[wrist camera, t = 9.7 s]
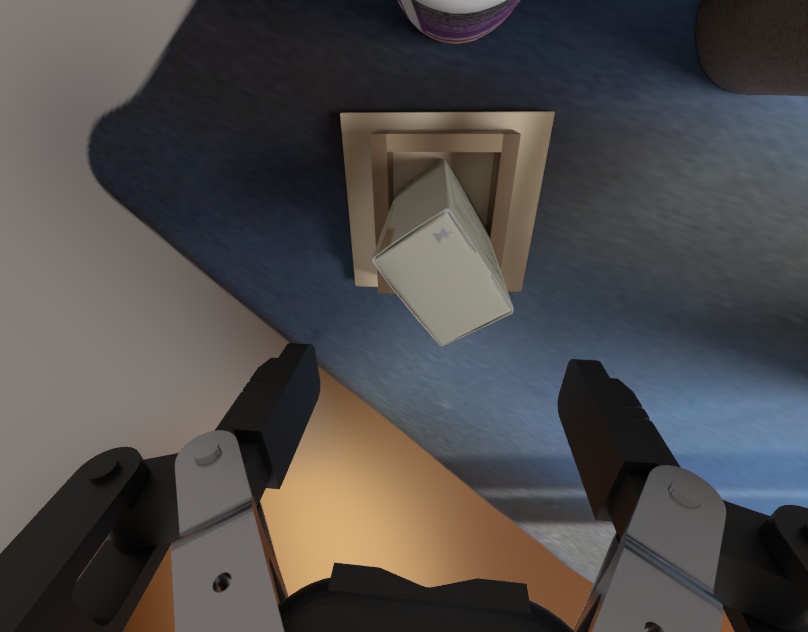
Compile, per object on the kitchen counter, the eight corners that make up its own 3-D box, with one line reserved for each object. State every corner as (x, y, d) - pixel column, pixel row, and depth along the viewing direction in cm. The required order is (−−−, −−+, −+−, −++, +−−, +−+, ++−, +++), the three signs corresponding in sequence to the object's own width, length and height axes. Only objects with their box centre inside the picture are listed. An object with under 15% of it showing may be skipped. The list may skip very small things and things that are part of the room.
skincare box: (394, 191, 26) (362, 254, 16) (444, 155, 25) (445, 199, 14) (441, 259, 29) (439, 352, 19) (489, 230, 27) (517, 314, 17)
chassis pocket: (550, 111, 24) (568, 114, 20) (519, 286, 31) (528, 310, 27) (343, 112, 25) (327, 115, 22) (357, 280, 32) (347, 303, 28)
